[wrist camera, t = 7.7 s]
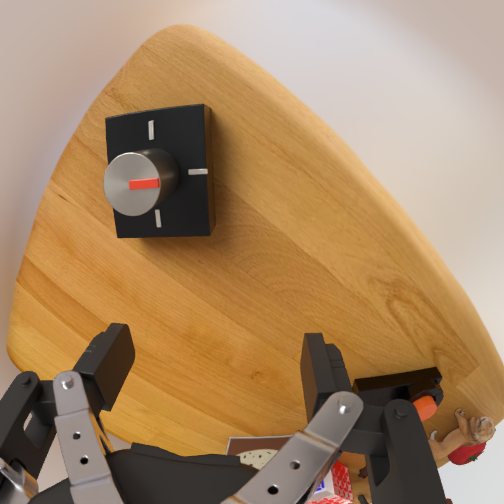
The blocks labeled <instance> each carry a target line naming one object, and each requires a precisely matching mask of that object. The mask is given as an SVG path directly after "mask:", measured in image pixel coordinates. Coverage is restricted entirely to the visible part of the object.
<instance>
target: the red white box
mask: <svg viewBox="0 0 504 504" xmlns="http://www.w3.org/2000/svg"><path fill="white" fill-rule="evenodd" d="M353 502H354V499H353V494H352V488H351V483H350V477H349V472H348V467H346V466H344V465H343V464H341V463H340V462H338V461H336V463H335V464H334V466H333V467H332V469H331V470H330V471H329V473H328V474H327V475H326V477H325V478H324V480H323V481H322V482H321V484H320V485H319V487H318V488H317V490H316V491H315V493H314V494H313V495H312V497H311V498H310V499H309V501H308V502H307V503H306V504H350V503H353Z"/></svg>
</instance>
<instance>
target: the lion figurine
mask: <svg viewBox="0 0 504 504" xmlns="http://www.w3.org/2000/svg"><path fill="white" fill-rule="evenodd" d="M461 410H462V409H461V408H459V409H457V410H456V411H455V417H456V418H457V420H458V423H459V428H457V429H456V430H454V431H452V432H450V433H449V434H448V435H447V436H446V437H445V438H444V440H443V441H442V442H441V443H440V442H437V441H436V440H435V438H434V436H435V435H436V434H437V430H436V431H434V432H432V434H431V437H430V440H428V442H429V445H430V448H431V451H432V454H433V457H434V460H440V459H443V458H445V457H446V456H447V455H449V454H450V453H451V452H452V451H454V450H455V449H457V448H459V447H460V446H461V447H462V446H468V447H470V446H473V445H476V444H479V445H480V444H482V443H484V442H487V441H488V440H490V439H491V438H492V437H493V434H494V432H495V431H496V429H495V427H494V424H493V421H492V419H491V418H489V417H479V418H477V417H472V418H471V419H469V420H468V421H467V420H466V419H465V417H464V415H465V411H463V412H462V413H461V414H460V412H461Z"/></svg>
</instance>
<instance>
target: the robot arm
mask: <svg viewBox="0 0 504 504" xmlns="http://www.w3.org/2000/svg"><path fill="white" fill-rule="evenodd" d="M134 360H135V349H134V345H133V341H132V337H131V333H130V329H129V326H128V325H127V324H120V323H111V324H110V326H109V327H108V328H107V330H106V331H105V332H101V333H100V334H98V335H97V336H96V337H94V338H93V340H92V341H91V343H90V344H89V346H88V347H87V348H86V350H85V352H84V353H83V354H82V356H81V357H80V359H79V360H78V362H77V363H76V365H75V366H74V368H73V369H72V371H64V372H61V373H60V374H58V375H57V376H56V377H55V378H54V380H40V379H39V377H38V375H37V374H36V373H35V372H32V371H25V372H22V373H21V374H19V375H18V376H17V377H16V378H15V379H14V381H13V382H12V384H11V385H10V387H9V388H8V390H7V391H6V393H5V394H4V396H3V398H2V399H1V400H0V504H306V503H307V502H308V501H309V499H310V498H311V497H312V495H313V494H314V493H315V491H316V490H317V488H318V487H319V485H320V484H321V482H322V481H323V480H324V478H325V477H326V475H327V474H328V473H329V471H330V470H331V469H332V467H333V466H334V464H335V463H336V461H337V460H338V458H339V457H340V456H341V454H342V453H343V451H345V452H351V453H358V454H365V460H366V466H367V472H368V478H369V484H370V491H371V498H372V504H447V501H446V498H445V494H444V490H443V487H442V483H441V480H440V476H439V473H438V470H437V466H436V463H435V460H434V457H433V454H432V451H431V448H430V445H429V442H428V439H427V436H426V433H425V430H424V427H423V425H422V422H421V419H420V416H419V414H418V411H417V409H416V407H415V406H414V405H413V404H412V403H411V402H409V401H407V400H403V399H395V400H392V401H390V402H389V403H387V405H386V406H385V407H380V406H373V405H368V404H365V403H363V402H362V400H361V399H360V397H359V396H357V395H356V394H354V393H353V390H352V387H351V383H350V380H349V377H348V374H347V371H346V368H345V364H344V361H343V358H342V355H341V352H340V350H339V349H338V348H337V347H336V346H335V345H334V344H325V342H324V338H323V335H322V333H305V334H304V340H303V347H302V354H301V363H300V369H301V377H302V384H303V391H304V399H305V406H306V413H307V421H308V425H307V426H306V427H305V428H304V429H303V430H302V431H300V430H298V431H296V432H295V433H294V434H293V435H292V436H291V438H290V439H289V440H288V441H287V442H286V443H285V444H284V445H283V446H282V448H281V449H280V450H279V451H278V452H277V453H276V454H275V455H274V456H273V457H272V458H271V459H270V460H269V461H268V462H267V463H266V464H265V465H264V466H263V468H262V469H261V470H259V469H257V468H255V467H253V466H250V465H247V464H244V463H241V460H240V456H236V455H219V454H208V455H198V456H187V457H183V456H179V455H177V454H174V453H171V452H169V451H166V450H164V449H161V448H159V447H155V446H150V445H144V444H139V443H135V442H133V443H132V446H131V449H123V450H118V451H114V449H113V447H112V445H111V443H110V440H109V438H108V435H107V433H106V430H105V427H104V425H103V422H102V419H101V417H100V415H99V414H100V412H101V410H105V411H110V412H111V409H112V407H113V405H114V403H115V401H116V398H117V396H118V394H119V392H120V390H121V388H122V386H123V384H124V381H125V379H126V377H127V375H128V373H129V371H130V369H131V367H132V365H133V363H134ZM29 413H31V414H32V418H31V420H30V422H29V424H28V426H27V428H26V429H25V431H24V428H23V427H24V423H25V421H26V419H27V417H28V415H29ZM56 433H57V435H58V439H59V443H60V448H61V452H62V456H63V459H64V463H65V467H66V470H67V473H68V478H66V479H64V480H62V481H61V482H59V483H57V484H55V485H54V486H52V487H50V488H48V489H46V490H44V491H42V492H40V493H39V492H38V484H37V478H38V476H39V473H40V471H41V468H42V466H43V463H44V461H45V458H46V456H47V454H48V451H49V449H50V447H51V444H52V442H53V440H54V438H55V435H56Z"/></svg>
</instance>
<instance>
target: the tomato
mask: <svg viewBox="0 0 504 504" xmlns="http://www.w3.org/2000/svg"><path fill="white" fill-rule="evenodd" d="M485 445H486V442H484V443H482V444H480V445H479V444H476V445H473V446H470V447H468V446H462V447H461V446H460V447H459V448H457V449H455V450H454V451H452V452H451V453H450V454H449V455H448V458H449V460H450V461H451V462H452V463H454V464H456V465H463V464H467V463H469V462H471V461H475V459H477V457H478V456H479V455H480V454H481V453H482V451H483V450H484V449H485Z"/></svg>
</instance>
